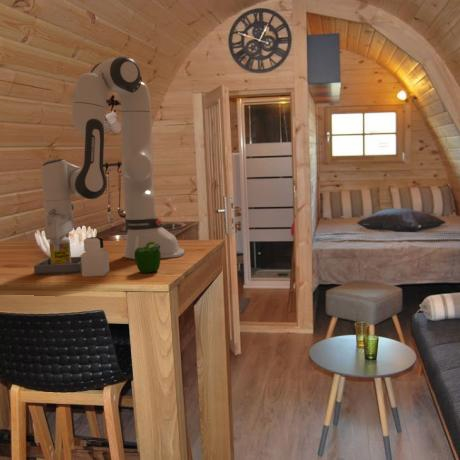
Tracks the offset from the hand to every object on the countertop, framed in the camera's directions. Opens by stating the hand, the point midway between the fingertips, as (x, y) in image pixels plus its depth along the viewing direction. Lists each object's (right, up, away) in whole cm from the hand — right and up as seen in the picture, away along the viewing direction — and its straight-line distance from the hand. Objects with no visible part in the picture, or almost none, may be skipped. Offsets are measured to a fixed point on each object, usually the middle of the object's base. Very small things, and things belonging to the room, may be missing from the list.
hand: (61, 248), depth 187 cm
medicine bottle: (+14, -8, -8) cm, 18 cm away
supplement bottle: (0, -7, +1) cm, 7 cm away
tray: (0, -7, +1) cm, 7 cm away
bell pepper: (+31, -8, -8) cm, 33 cm away
